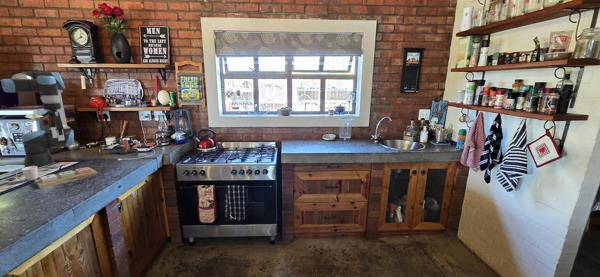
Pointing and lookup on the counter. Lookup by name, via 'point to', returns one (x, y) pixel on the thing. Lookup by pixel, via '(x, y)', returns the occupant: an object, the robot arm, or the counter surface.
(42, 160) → the robot arm
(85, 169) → the tile
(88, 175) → the board
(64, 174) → the tile
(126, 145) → the figurine
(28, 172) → the cup
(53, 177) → the tile
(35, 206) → the counter surface
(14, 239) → the counter surface
